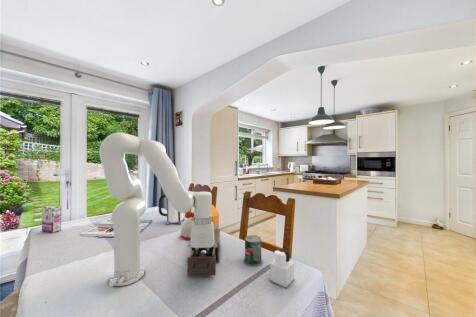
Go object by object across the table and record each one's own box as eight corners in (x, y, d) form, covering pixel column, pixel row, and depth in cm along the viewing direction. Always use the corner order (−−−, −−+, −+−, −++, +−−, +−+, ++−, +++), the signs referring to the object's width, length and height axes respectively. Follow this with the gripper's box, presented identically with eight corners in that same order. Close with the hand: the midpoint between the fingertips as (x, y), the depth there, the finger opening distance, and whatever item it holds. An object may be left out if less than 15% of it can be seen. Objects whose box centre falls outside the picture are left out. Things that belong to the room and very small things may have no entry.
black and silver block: (206, 264, 86) (206, 256, 86) (197, 264, 85) (197, 256, 85) (208, 255, 93) (208, 248, 93) (200, 256, 93) (200, 248, 93)
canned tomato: (264, 260, 96) (264, 237, 96) (256, 267, 90) (256, 243, 90) (250, 255, 101) (250, 234, 101) (241, 262, 94) (241, 239, 94)
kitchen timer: (192, 241, 117) (192, 216, 117) (176, 236, 124) (176, 213, 124) (207, 234, 129) (207, 211, 129) (192, 230, 136) (192, 208, 136)
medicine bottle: (278, 272, 86) (278, 245, 86) (293, 279, 81) (294, 250, 81) (269, 280, 80) (269, 251, 80) (286, 288, 76) (286, 256, 76)
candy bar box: (61, 230, 135) (61, 206, 135) (52, 233, 130) (52, 208, 130) (50, 228, 139) (50, 205, 138) (41, 231, 134) (41, 206, 134)
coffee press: (179, 217, 163) (179, 181, 163) (188, 222, 151) (188, 183, 151) (158, 222, 152) (158, 183, 152) (166, 227, 140) (165, 185, 140)
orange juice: (201, 240, 119) (201, 207, 119) (207, 234, 128) (207, 203, 127) (213, 242, 117) (213, 208, 117) (219, 236, 125) (219, 204, 125)
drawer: (214, 282, 77) (214, 263, 77) (184, 283, 77) (184, 264, 77) (217, 255, 99) (217, 240, 99) (194, 256, 98) (194, 241, 98)
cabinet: (218, 262, 95) (218, 242, 95) (191, 262, 94) (191, 243, 94) (220, 245, 112) (220, 229, 112) (197, 245, 112) (197, 229, 112)
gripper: (182, 223, 83) (181, 266, 83) (221, 222, 84) (220, 265, 84) (186, 217, 91) (185, 257, 91) (221, 217, 92) (221, 257, 92)
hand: (202, 261), depth 87 cm, fingers closed on black and silver block, 3 cm apart
